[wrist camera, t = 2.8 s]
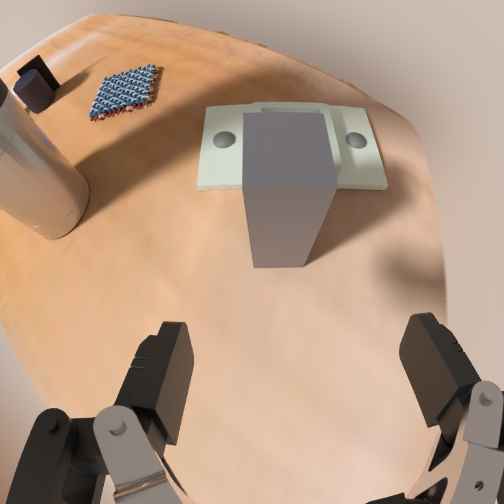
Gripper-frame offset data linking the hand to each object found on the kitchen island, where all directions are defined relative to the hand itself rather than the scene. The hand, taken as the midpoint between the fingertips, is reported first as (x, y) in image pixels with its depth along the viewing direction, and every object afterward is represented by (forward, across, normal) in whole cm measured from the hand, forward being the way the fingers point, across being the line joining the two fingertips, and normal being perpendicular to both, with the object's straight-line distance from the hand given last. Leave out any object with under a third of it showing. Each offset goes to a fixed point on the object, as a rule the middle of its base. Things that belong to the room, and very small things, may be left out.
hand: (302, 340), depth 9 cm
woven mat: (+36, +22, -13) cm, 44 cm away
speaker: (+39, +42, -17) cm, 60 cm away
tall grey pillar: (+18, 0, +4) cm, 18 cm away
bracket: (+26, -2, -4) cm, 26 cm away
